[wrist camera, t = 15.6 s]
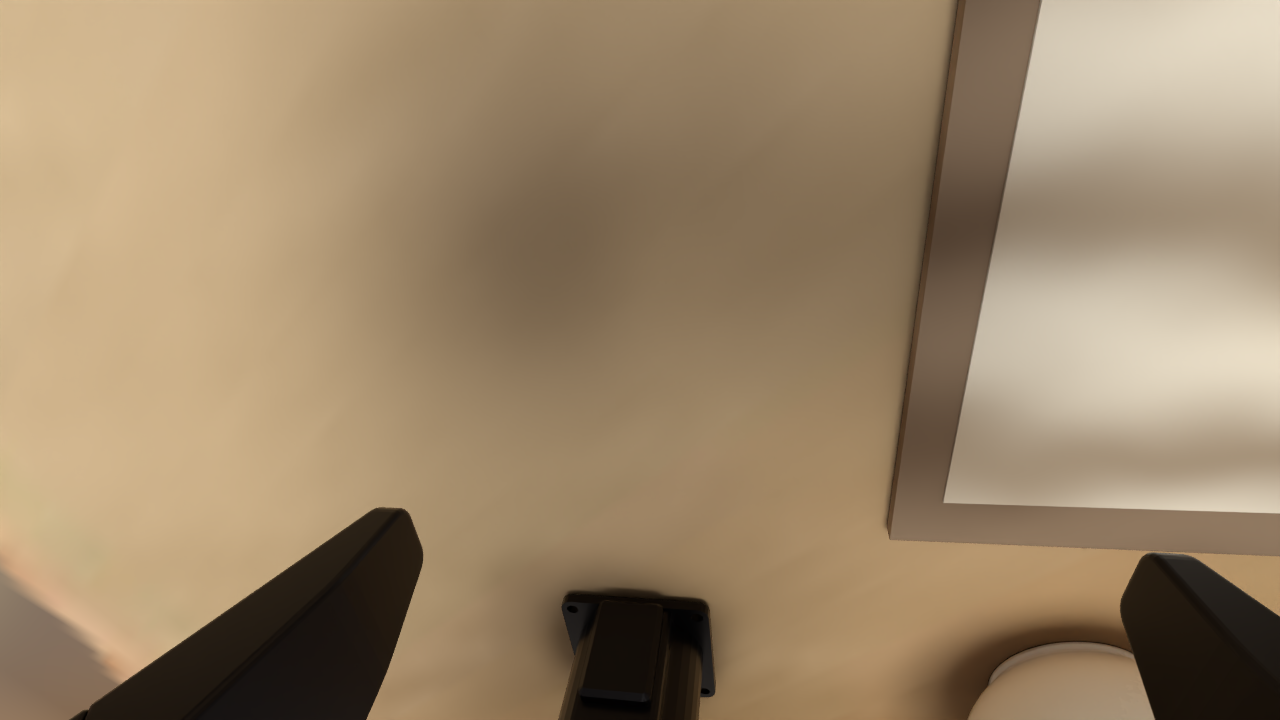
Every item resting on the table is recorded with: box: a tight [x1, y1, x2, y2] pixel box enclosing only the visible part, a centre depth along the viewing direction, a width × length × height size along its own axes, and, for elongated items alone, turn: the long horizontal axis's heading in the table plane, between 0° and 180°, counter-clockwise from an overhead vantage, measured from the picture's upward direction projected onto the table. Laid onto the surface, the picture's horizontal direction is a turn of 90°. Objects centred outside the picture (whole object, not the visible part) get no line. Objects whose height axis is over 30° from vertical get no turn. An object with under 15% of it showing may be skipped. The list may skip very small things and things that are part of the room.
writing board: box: [887, 0, 1280, 556], centre depth 16 cm, size 22×16×1 cm
